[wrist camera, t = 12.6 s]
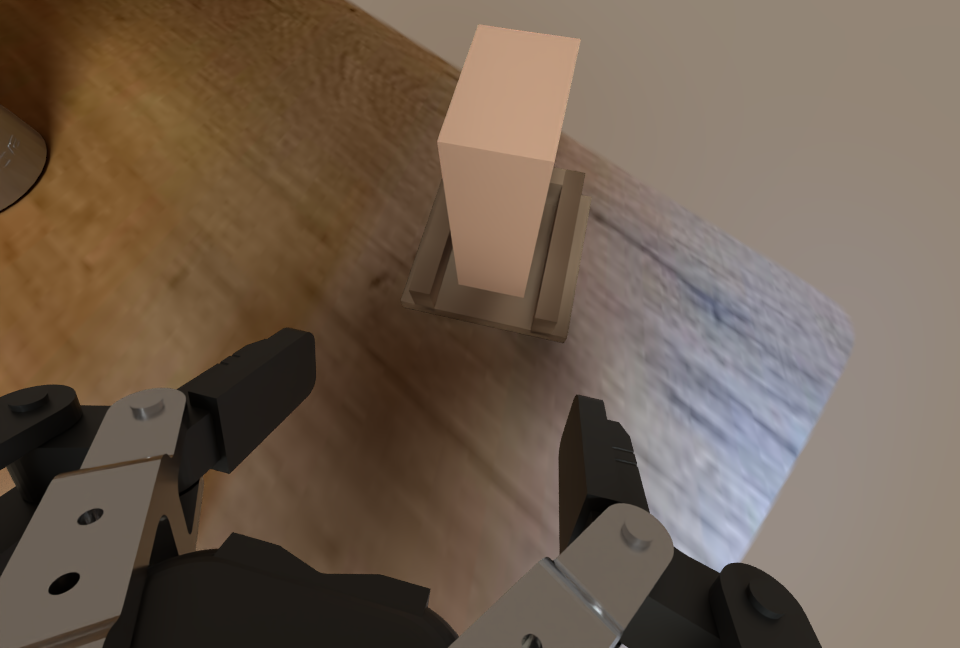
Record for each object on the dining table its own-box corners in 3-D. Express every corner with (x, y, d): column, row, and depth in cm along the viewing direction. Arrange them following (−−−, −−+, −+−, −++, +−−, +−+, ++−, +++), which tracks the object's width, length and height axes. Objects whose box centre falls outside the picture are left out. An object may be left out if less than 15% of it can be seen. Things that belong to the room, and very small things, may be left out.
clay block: (458, 284, 23) (437, 141, 13) (481, 203, 25) (478, 24, 15) (523, 297, 23) (554, 162, 13) (541, 214, 25) (580, 39, 15)
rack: (403, 307, 24) (392, 286, 21) (446, 179, 27) (441, 147, 25) (563, 343, 23) (574, 326, 20) (587, 206, 26) (600, 175, 24)
